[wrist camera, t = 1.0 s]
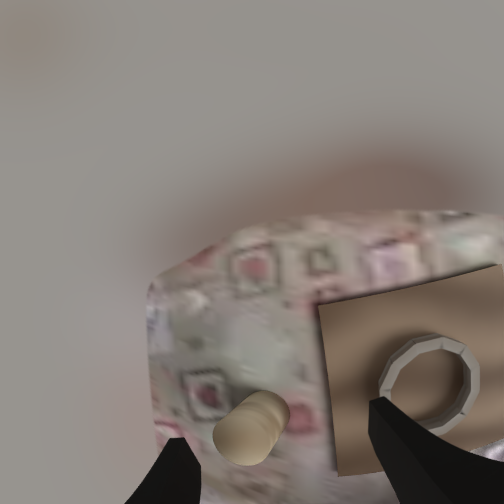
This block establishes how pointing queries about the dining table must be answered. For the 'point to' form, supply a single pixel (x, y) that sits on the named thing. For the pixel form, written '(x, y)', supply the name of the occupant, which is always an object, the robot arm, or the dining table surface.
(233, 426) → the maple peg
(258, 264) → the dining table surface
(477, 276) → the socket board
